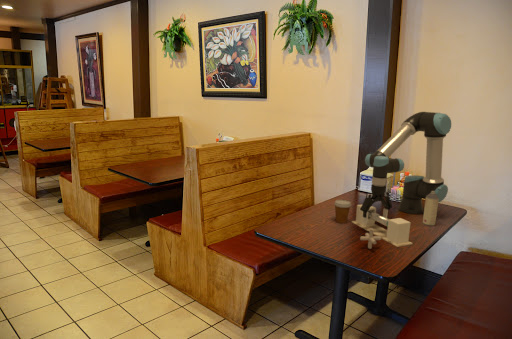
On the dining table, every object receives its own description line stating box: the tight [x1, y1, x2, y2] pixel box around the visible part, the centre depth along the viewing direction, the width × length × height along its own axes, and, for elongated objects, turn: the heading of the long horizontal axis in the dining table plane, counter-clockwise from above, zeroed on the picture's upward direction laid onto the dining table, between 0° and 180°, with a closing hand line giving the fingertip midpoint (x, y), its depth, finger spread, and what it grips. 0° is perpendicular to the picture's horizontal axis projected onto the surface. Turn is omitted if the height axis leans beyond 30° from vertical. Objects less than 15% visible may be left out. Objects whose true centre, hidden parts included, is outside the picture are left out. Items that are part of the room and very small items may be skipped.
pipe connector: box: [359, 228, 382, 250], centre depth 184 cm, size 10×10×10 cm
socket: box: [386, 217, 412, 244], centre depth 192 cm, size 7×8×11 cm
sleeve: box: [355, 203, 377, 227], centre depth 215 cm, size 8×7×11 cm
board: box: [350, 220, 413, 248], centre depth 205 cm, size 37×10×1 cm, turn 23°
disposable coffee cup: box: [334, 199, 352, 224], centre depth 219 cm, size 10×10×12 cm
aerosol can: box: [422, 191, 439, 227], centre depth 218 cm, size 7×7×20 cm
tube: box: [368, 211, 390, 228], centre depth 207 cm, size 24×4×4 cm, turn 23°
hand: (375, 221), depth 208 cm, fingers open, 13 cm apart
